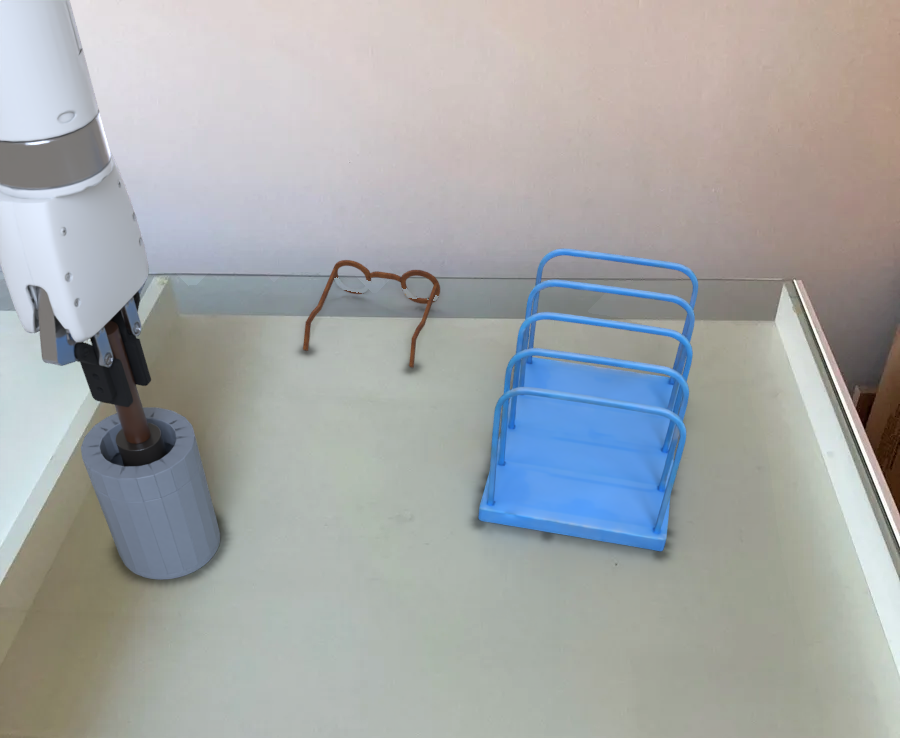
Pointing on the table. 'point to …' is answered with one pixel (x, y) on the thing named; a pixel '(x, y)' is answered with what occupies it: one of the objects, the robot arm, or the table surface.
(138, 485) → the pen holder
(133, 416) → the brown and grey pestle
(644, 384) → the file sorter
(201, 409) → the table surface
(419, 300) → the glasses
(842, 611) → the table surface
